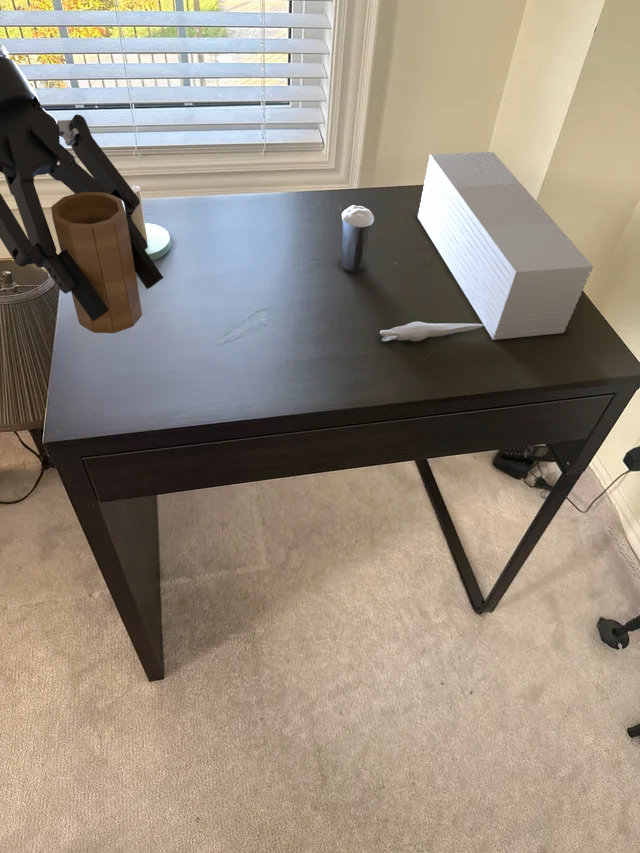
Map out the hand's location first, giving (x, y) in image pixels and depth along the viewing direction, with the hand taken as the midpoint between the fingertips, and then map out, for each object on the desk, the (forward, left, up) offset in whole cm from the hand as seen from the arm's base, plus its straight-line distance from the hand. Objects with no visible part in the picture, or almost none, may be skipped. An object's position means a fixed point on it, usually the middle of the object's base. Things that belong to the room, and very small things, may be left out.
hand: (128, 298), depth 64 cm
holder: (+4, +33, -15) cm, 36 cm away
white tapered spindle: (+38, +3, -15) cm, 41 cm away
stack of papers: (+53, +15, -15) cm, 57 cm away
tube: (-2, +3, -4) cm, 5 cm away
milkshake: (+33, +21, -15) cm, 42 cm away
